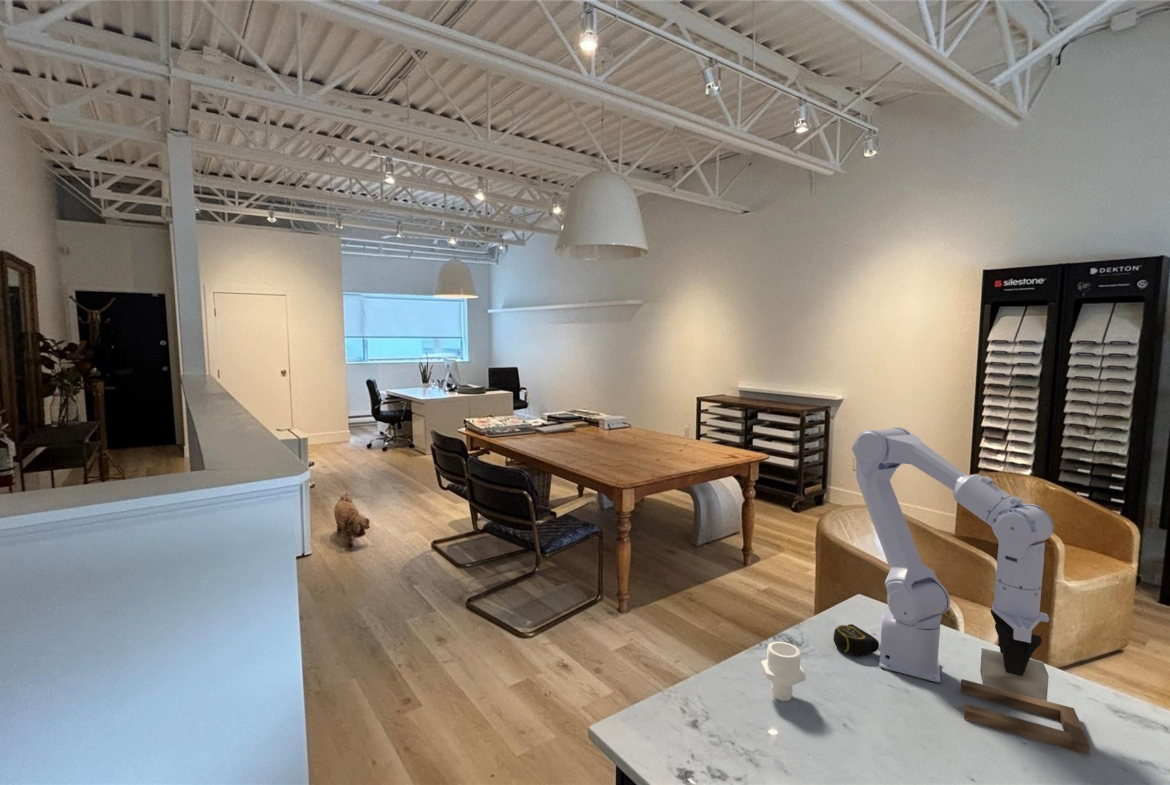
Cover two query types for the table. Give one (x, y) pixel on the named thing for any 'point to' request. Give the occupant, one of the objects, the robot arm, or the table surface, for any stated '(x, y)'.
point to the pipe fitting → (783, 669)
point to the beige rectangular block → (1014, 676)
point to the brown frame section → (1067, 739)
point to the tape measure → (854, 640)
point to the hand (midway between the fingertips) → (1011, 665)
